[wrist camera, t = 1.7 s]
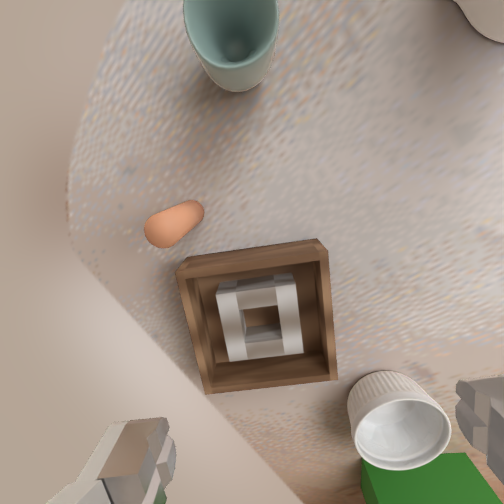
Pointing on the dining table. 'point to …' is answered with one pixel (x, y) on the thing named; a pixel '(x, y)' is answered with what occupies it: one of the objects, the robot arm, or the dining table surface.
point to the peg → (173, 223)
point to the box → (260, 316)
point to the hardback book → (428, 483)
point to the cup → (233, 39)
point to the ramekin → (396, 422)
